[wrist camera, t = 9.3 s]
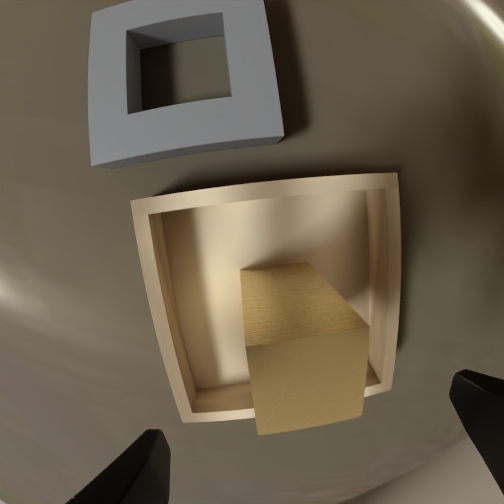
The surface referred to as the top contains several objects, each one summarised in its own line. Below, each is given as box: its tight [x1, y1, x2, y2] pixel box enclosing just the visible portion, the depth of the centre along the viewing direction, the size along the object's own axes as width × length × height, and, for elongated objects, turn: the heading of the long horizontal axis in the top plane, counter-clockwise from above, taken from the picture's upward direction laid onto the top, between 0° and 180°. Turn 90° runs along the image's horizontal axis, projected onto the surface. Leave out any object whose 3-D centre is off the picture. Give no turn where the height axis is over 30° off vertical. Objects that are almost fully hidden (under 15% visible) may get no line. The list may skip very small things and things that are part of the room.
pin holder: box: [88, 0, 284, 169], centre depth 15 cm, size 10×10×3 cm
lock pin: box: [240, 261, 370, 435], centre depth 14 cm, size 4×4×9 cm
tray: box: [131, 173, 401, 423], centre depth 17 cm, size 14×14×4 cm
